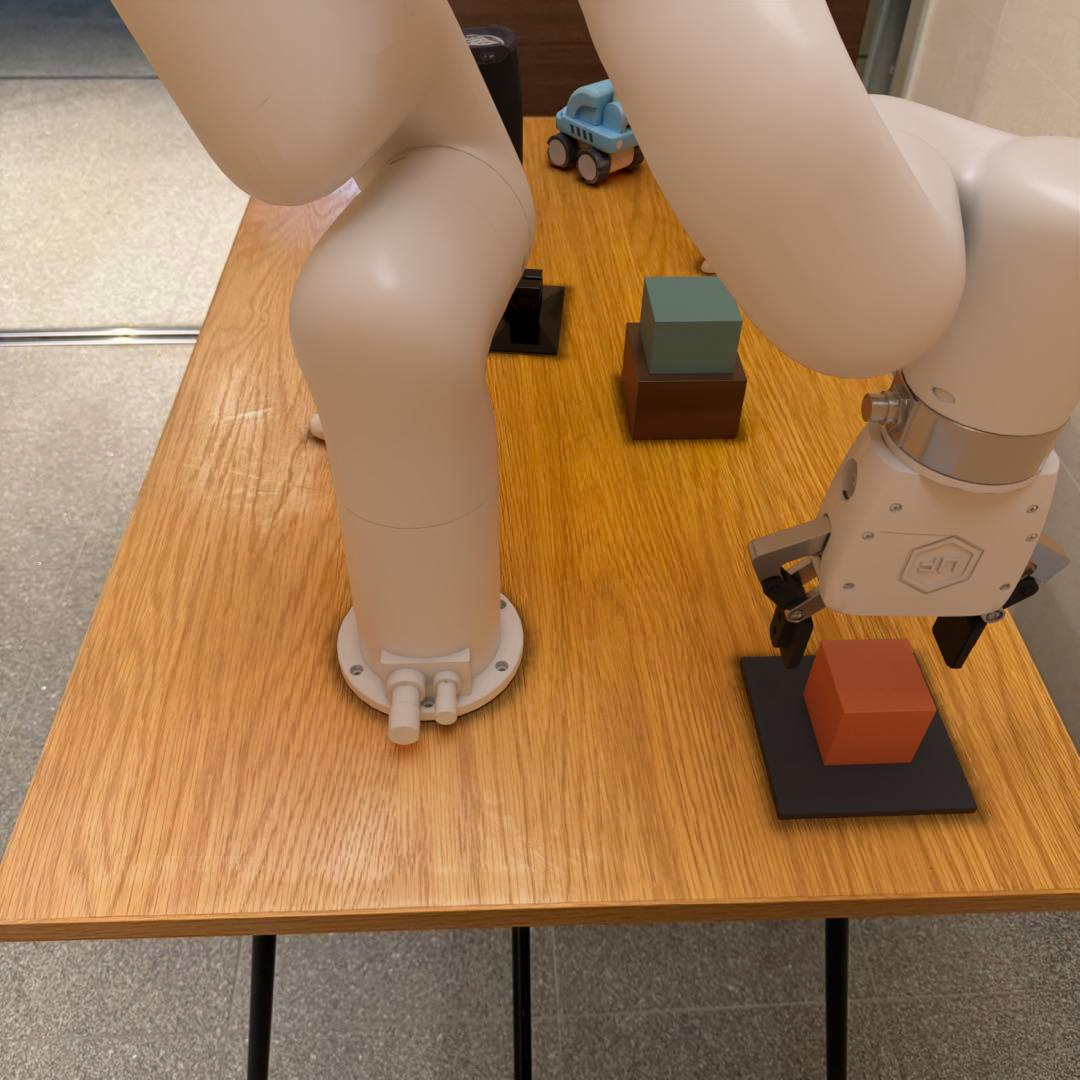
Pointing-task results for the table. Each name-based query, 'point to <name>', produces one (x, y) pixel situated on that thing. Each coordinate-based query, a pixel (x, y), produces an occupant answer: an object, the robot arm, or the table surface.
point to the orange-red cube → (867, 701)
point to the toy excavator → (594, 134)
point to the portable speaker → (500, 75)
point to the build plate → (531, 318)
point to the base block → (679, 398)
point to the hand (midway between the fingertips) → (865, 649)
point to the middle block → (689, 325)
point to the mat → (843, 788)
